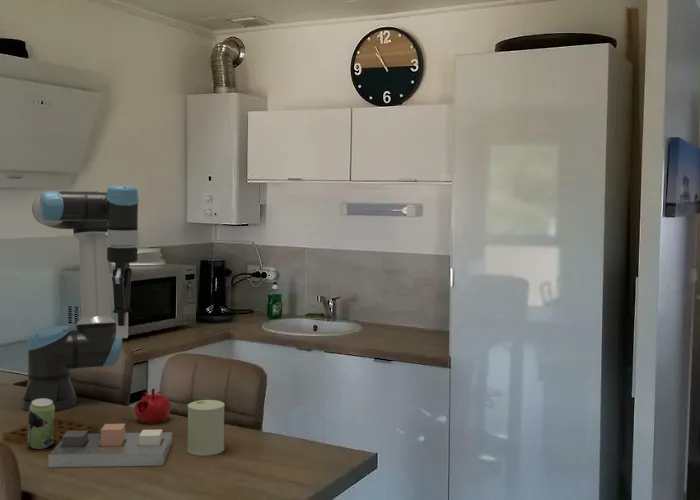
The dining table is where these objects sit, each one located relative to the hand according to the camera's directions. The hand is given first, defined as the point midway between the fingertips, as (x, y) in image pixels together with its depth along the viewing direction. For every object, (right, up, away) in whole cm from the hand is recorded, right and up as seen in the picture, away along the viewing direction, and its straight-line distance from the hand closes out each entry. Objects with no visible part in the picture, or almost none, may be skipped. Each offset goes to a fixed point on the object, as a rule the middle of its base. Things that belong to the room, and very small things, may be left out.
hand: (122, 337), depth 197 cm
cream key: (+10, -27, -10) cm, 31 cm away
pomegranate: (+3, -26, +18) cm, 32 cm away
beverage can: (-19, -27, -6) cm, 33 cm away
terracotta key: (+1, -25, -11) cm, 28 cm away
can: (+23, -28, -6) cm, 36 cm away
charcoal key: (-8, -27, -12) cm, 30 cm away
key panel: (+1, -27, -11) cm, 30 cm away
